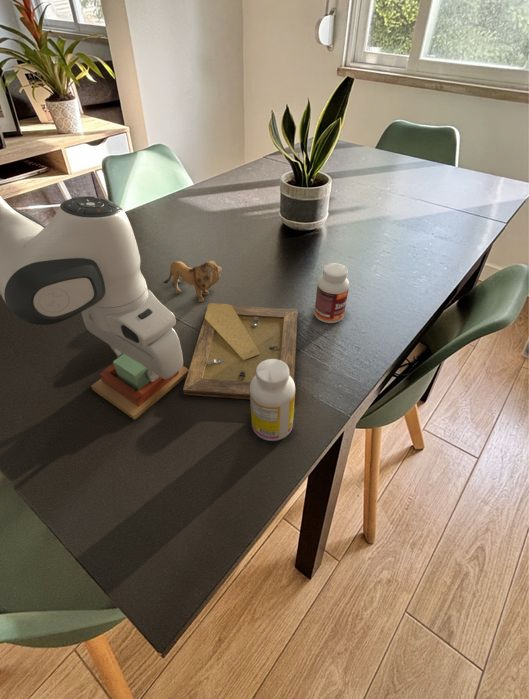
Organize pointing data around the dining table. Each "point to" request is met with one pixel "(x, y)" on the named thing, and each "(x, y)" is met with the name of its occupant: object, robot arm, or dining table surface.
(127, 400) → the wooden framed tray
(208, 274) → the lion figurine
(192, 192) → the dining table surface
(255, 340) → the picture frame
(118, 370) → the green block
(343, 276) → the pill bottle
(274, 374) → the supplement bottle
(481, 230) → the dining table surface
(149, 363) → the robot arm
